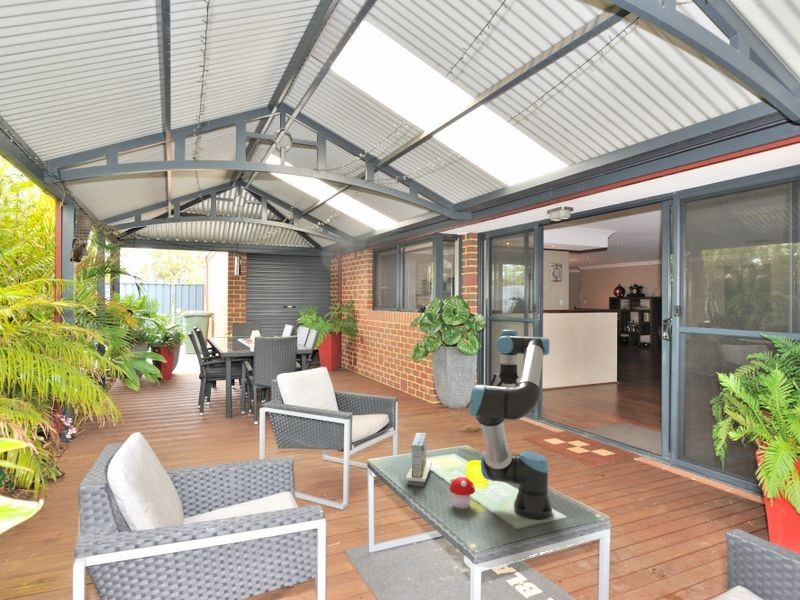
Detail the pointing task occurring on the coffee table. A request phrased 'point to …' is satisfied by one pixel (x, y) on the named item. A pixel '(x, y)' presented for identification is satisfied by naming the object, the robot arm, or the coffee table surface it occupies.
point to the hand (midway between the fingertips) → (508, 410)
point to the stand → (418, 480)
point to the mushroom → (461, 492)
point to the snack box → (418, 454)
